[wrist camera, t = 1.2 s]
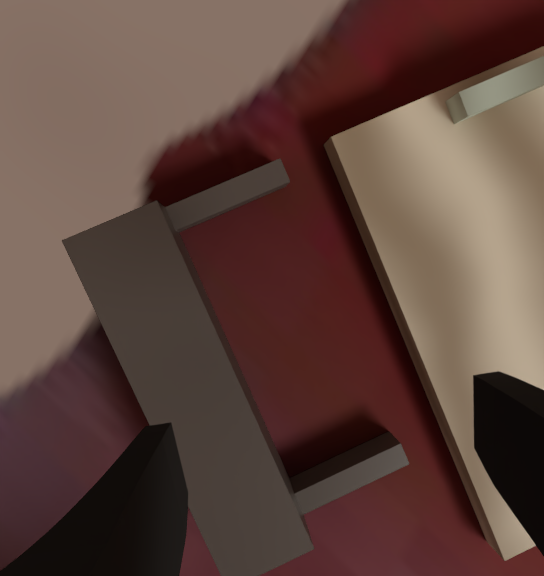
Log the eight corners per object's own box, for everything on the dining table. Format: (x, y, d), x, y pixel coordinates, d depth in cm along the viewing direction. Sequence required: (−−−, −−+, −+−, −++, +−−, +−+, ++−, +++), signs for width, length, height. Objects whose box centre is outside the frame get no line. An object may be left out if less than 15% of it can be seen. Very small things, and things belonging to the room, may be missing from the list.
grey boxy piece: (227, 531, 22) (228, 590, 18) (92, 243, 21) (61, 240, 17) (397, 450, 23) (433, 491, 19) (276, 165, 22) (288, 144, 18)
